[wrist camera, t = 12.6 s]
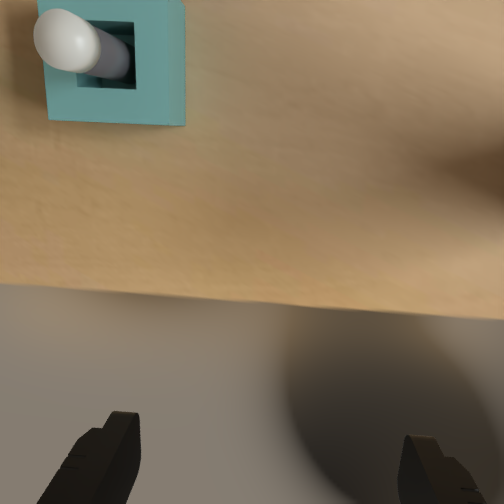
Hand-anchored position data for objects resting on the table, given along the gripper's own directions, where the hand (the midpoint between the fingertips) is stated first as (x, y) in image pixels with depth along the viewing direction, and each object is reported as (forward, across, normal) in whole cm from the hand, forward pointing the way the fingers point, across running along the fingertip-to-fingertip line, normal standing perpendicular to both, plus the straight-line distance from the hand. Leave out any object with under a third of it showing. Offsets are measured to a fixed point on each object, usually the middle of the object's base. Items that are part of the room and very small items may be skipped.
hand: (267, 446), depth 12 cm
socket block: (+30, +14, -14) cm, 36 cm away
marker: (+29, +14, -14) cm, 35 cm away
